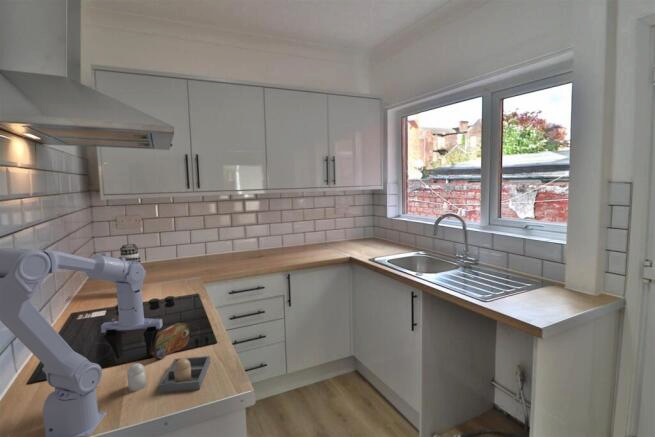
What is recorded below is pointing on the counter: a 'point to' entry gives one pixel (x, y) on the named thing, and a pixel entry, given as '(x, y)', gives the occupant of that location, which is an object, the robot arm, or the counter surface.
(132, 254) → the decorative candle
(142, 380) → the egg
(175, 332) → the tin
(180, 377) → the brown egg
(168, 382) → the grey shallow tray
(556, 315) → the counter surface
